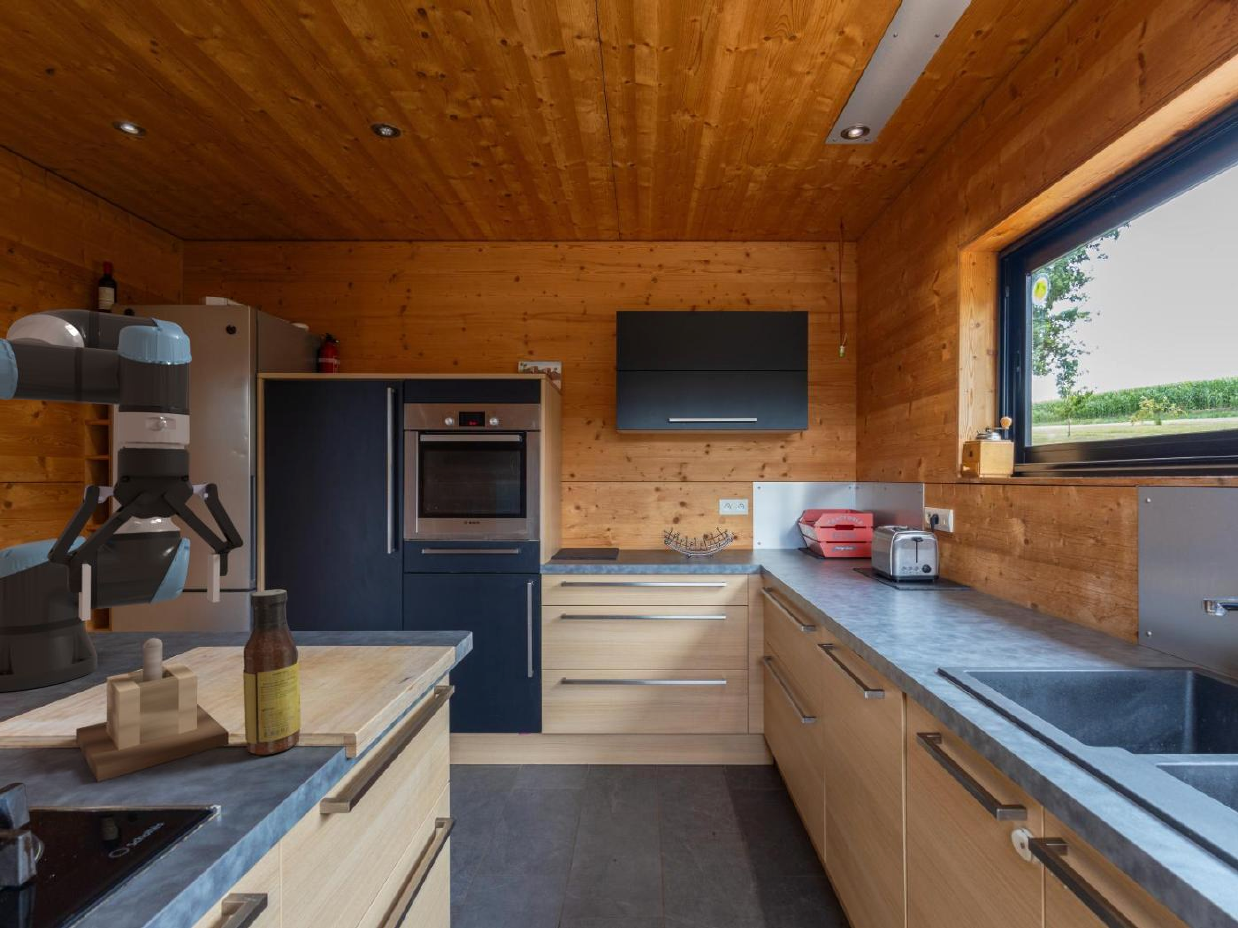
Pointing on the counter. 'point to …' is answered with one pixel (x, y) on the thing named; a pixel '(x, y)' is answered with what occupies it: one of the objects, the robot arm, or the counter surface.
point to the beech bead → (151, 706)
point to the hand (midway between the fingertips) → (153, 609)
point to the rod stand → (117, 762)
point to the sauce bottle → (271, 678)
